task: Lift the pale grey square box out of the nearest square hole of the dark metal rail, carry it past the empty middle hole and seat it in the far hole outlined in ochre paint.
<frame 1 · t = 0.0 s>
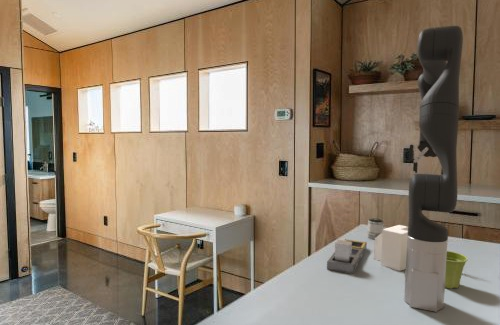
hand: (429, 173, 132), 29 cm above the table, fingers open, 8 cm apart
pale grey square box: (342, 266, 119), resting in rail
white angular block: (391, 263, 124), on the table
camera lens: (375, 238, 153), on the table
rail: (348, 258, 127), on the table
plant pot: (447, 285, 106), on the table
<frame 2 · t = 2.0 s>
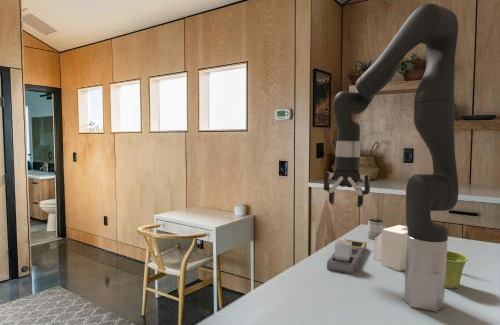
hand: (345, 205, 117), 20 cm above the table, fingers open, 8 cm apart
nothing on the table moved.
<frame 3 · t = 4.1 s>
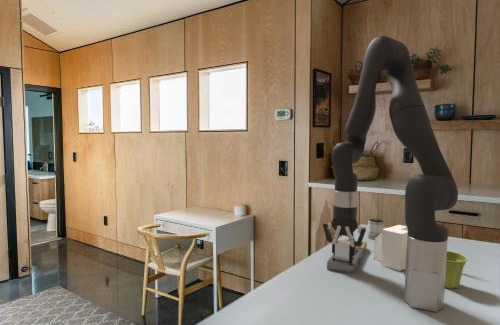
hand: (343, 255, 119), 4 cm above the table, fingers closed on pale grey square box, 4 cm apart
pale grey square box: (342, 266, 119), resting in rail, touching gripper
everything else where it was.
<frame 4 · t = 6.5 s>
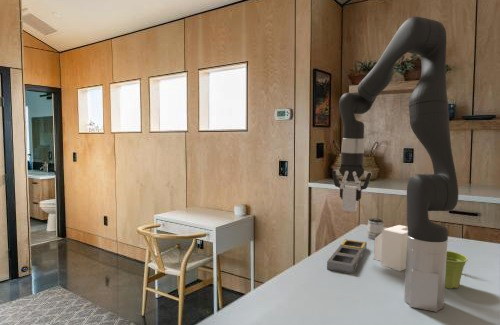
hand: (350, 199, 128), 20 cm above the table, fingers closed on pale grey square box, 4 cm apart
pale grey square box: (349, 209, 128), point 17 cm above the table, touching gripper
everything else where it was.
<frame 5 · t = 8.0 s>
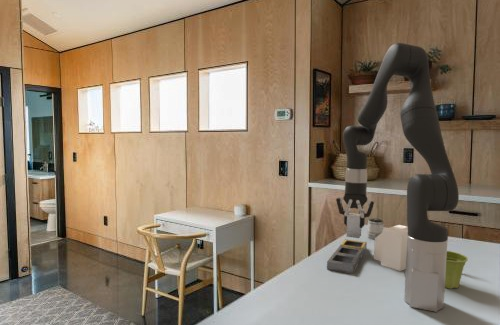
hand: (354, 226, 134), 9 cm above the table, fingers closed on pale grey square box, 4 cm apart
pale grey square box: (353, 235, 135), point 6 cm above the table, touching gripper
everything else where it was.
when the fingers open (4 cm above the table, at t = 9.2 s): pale grey square box stays where it is, resting in rail.
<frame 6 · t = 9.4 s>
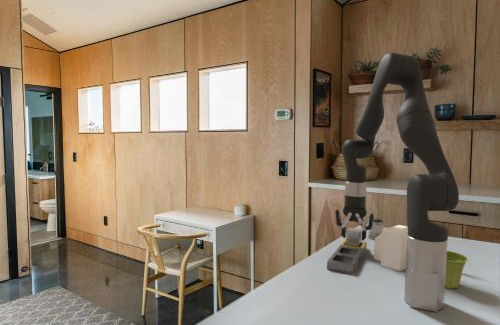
hand: (353, 238, 135), 5 cm above the table, fingers open, 6 cm apart
pale grey square box: (353, 251, 135), resting in rail
everything else where it was.
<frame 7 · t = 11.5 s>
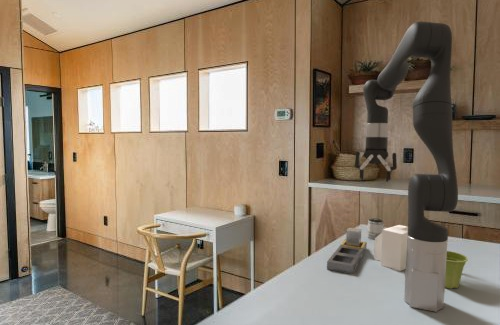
hand: (374, 180, 133), 26 cm above the table, fingers open, 8 cm apart
nothing on the table moved.
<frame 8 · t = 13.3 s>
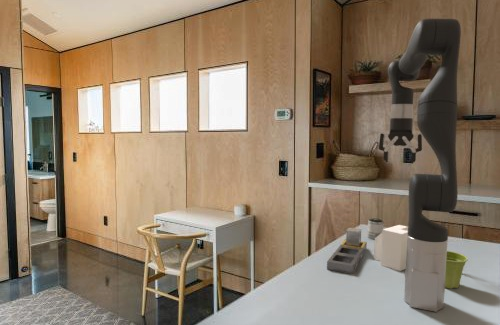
hand: (399, 162, 132), 33 cm above the table, fingers open, 8 cm apart
nothing on the table moved.
at the end: pale grey square box 0.0 cm from the target spot on the rail, point 0.0 cm above the rail's base; pale grey square box tilted 0°; the gripper is holding nothing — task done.
